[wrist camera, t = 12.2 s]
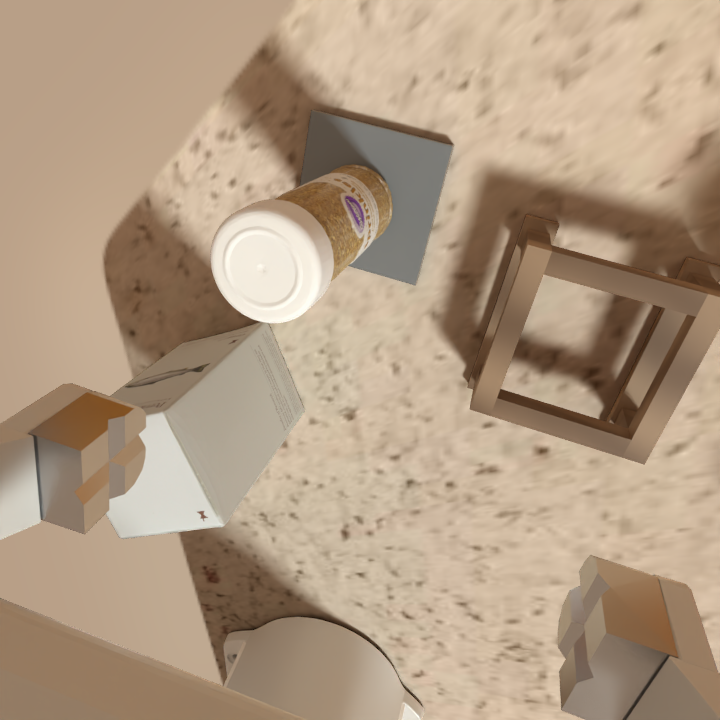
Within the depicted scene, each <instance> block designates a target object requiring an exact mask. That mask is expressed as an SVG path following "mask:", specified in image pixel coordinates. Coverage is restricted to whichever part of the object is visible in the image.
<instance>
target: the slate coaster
mask: <svg viewBox="0 0 720 720" xmlns="http://www.w3.org/2000/svg"><path fill="white" fill-rule="evenodd" d="M453 147H454V145H451V144H447V143H443V142H440V141H436V140H432V139H428V138H424V137H420V136H416V135H412V134H408V133H404V132H400V131H396V130H392V129H388V128H385V127H381V126H377V125H373V124H369V123H365V122H361V121H357V120H353V119H349V118H345V117H341V116H337V115H333V114H330V113H326V112H322V111H318V110H311V116H310V123H309V129H308V136H307V142H306V149H305V155H304V162H303V168H302V174H301V181H300V186H301V185H303V184H305V183H308V182H310V181H312V180H314V179H317V178H319V177H321V176H324V175H326V174H330V173H331V172H332V171H333V170H335V169H337V168H340V167H341V166H345V165H352V164H354V165H361V166H366V167H368V168H369V169H371V170H373V171H374V172H376V173H378V174H379V175H380V176H381V177H382V178H383V180H384V181H385V182H386V183H387V184H388V187H389V189H390V192H391V197H392V204H393V212H392V217H391V221H390V223H389V225H388V227H387V228H386V230H385V231H384V233H383V234H381V235H380V236H379V237H378V238H377V239H375V240H374V241H373V242H372V243H371V244H370V246H369V247H368V248H367V249H366V250H365V251H364V252H363V253H362V254H361V255H360V256H359V257H358V258H357V259H356V260H355V261H354V262H353V263H351V264H349V265H348V266H350V267H354V268H357V269H361V270H364V271H368V272H371V273H375V274H378V275H381V276H385V277H388V278H392V279H395V280H399V281H402V282H406V283H409V284H412V285H416V284H417V281H418V278H419V274H420V270H421V266H422V263H423V259H424V255H425V252H426V248H427V244H428V240H429V237H430V233H431V229H432V226H433V222H434V218H435V214H436V211H437V207H438V203H439V199H440V196H441V192H442V188H443V185H444V181H445V177H446V173H447V170H448V166H449V162H450V159H451V155H452V151H453Z"/></svg>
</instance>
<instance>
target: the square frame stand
mask: <svg viewBox="0 0 720 720" xmlns="http://www.w3.org/2000/svg"><path fill="white" fill-rule="evenodd" d="M558 228H559V223H558V222H555V221H551V220H547V219H543V218H540V217H536V216H532V215H528V214H526V216H525V219H524V222H523V225H522V228H521V231H520V234H519V237H518V240H517V243H516V246H515V248H514V251H513V254H512V257H511V260H510V263H509V266H508V269H507V272H506V275H505V278H504V280H503V283H502V286H501V289H500V292H499V295H498V298H497V301H496V304H495V307H494V310H493V313H492V315H491V318H490V321H489V324H488V327H487V330H486V333H485V336H484V339H483V342H482V345H481V348H480V350H479V353H478V356H477V359H476V362H475V365H474V368H473V371H472V374H471V377H470V380H469V382H468V387H467V388H471V389H473V394H472V399H471V405H470V410H473V411H477V412H480V413H483V414H486V415H489V416H492V417H496V418H499V419H502V420H505V421H508V422H511V423H515V424H518V425H521V426H524V427H527V428H530V429H534V430H537V431H540V432H543V433H546V434H549V435H553V436H556V437H559V438H562V439H565V440H568V441H572V442H575V443H578V444H581V445H584V446H587V447H591V448H594V449H597V450H600V451H603V452H606V453H610V454H613V455H616V456H619V457H622V458H625V459H629V460H632V461H635V462H638V463H641V464H645V463H646V461H647V459H648V457H649V455H650V453H651V452H652V450H653V448H654V446H655V444H656V443H657V441H658V439H659V437H660V435H661V434H662V432H663V430H664V428H665V426H666V425H667V423H668V421H669V419H670V417H671V416H672V414H673V412H674V410H675V408H676V406H677V405H678V403H679V401H680V399H681V397H682V396H683V394H684V392H685V390H686V388H687V387H688V385H689V383H690V381H691V379H692V378H693V376H694V374H695V372H696V370H697V369H698V367H699V365H700V363H701V361H702V360H703V358H704V356H705V354H706V352H707V350H708V349H709V347H710V345H711V343H712V341H713V340H714V338H715V336H716V334H717V332H718V331H719V329H720V285H719V284H718V282H719V280H720V265H716V264H712V263H709V262H705V261H701V260H697V259H694V258H690V257H686V259H685V261H684V263H683V265H682V268H681V270H680V272H679V274H678V276H677V278H676V279H674V278H670V277H666V276H662V275H659V274H655V273H651V272H648V271H644V270H640V269H637V268H633V267H629V266H626V265H622V264H618V263H615V262H611V261H607V260H604V259H600V258H596V257H593V256H589V255H585V254H582V253H578V252H574V251H571V250H567V249H563V248H559V247H556V246H552V244H553V241H554V238H555V236H556V233H557V230H558ZM543 274H544V275H548V276H551V277H555V278H559V279H562V280H566V281H569V282H573V283H577V284H580V285H584V286H587V287H591V288H594V289H598V290H602V291H605V292H609V293H612V294H616V295H620V296H623V297H627V298H630V299H634V300H637V301H641V302H645V303H648V304H652V305H655V306H659V307H662V308H661V310H660V312H659V314H658V316H657V318H656V320H655V322H654V324H653V326H652V329H651V331H650V333H649V335H648V337H647V339H646V341H645V343H644V345H643V347H642V349H641V351H640V353H639V355H638V357H637V359H636V361H635V363H634V365H633V367H632V369H631V371H630V373H629V375H628V377H627V379H626V381H625V383H624V385H623V387H622V390H621V392H620V394H619V396H618V398H617V400H616V402H615V404H614V406H613V408H612V410H611V412H610V414H609V416H608V418H607V420H606V421H602V420H599V419H596V418H593V417H589V416H586V415H583V414H580V413H576V412H573V411H570V410H567V409H564V408H560V407H557V406H554V405H551V404H547V403H544V402H541V401H538V400H534V399H531V398H528V397H525V396H521V395H518V394H515V393H512V392H508V391H505V390H502V389H501V386H502V383H503V381H504V378H505V375H506V373H507V370H508V367H509V365H510V362H511V359H512V357H513V354H514V351H515V349H516V346H517V343H518V341H519V338H520V335H521V333H522V330H523V327H524V325H525V322H526V319H527V317H528V314H529V311H530V309H531V306H532V303H533V301H534V298H535V295H536V293H537V290H538V287H539V285H540V282H541V280H542V277H543Z"/></svg>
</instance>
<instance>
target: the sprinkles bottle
mask: <svg viewBox="0 0 720 720" xmlns="http://www.w3.org/2000/svg"><path fill="white" fill-rule="evenodd" d="M392 212H393V204H392V197H391V192H390V189H389V187H388V184H387V183H386V182H385V181H384V180H383V178H382V177H381V176H380V175H379V174H378V173H376V172H374V171H373V170H371V169H369V168H368V167H366V166H361V165H354V164H352V165H345V166H341V167H340V168H337V169H335V170H333V171H332V172H331V173H330V174H326V175H324V176H321V177H319V178H317V179H314V180H312V181H310V182H308V183H305V184H303V185H301V186H299V187H297V188H295V189H292V190H290V191H288V192H286V193H284V194H282V195H281V196H279V197H278V198H276V199H269V200H262V201H259V202H256V203H254V204H251V205H249V206H247V207H245V208H243V209H241V210H239V211H237V212H235V213H233V214H232V215H230V216H229V217H228V218H227V219H226V220H225V221H224V222H223V223H222V224H221V225H220V227H219V228H218V230H217V232H216V234H215V236H214V239H213V242H212V246H211V254H210V260H211V269H212V273H213V277H214V279H215V282H216V284H217V286H218V288H219V290H220V292H221V293H222V295H223V296H224V297H225V299H226V300H227V301H228V302H229V303H230V304H231V305H232V306H233V307H234V308H235V309H236V310H238V311H239V312H240V313H242V314H243V315H245V316H247V317H249V318H251V319H254V320H257V321H260V322H265V323H282V322H287V321H290V320H293V319H295V318H297V317H299V316H301V315H302V314H303V313H305V312H306V311H307V310H308V309H309V308H311V307H312V306H313V305H314V304H315V303H316V302H317V301H318V300H319V299H320V298H321V297H322V296H323V295H324V293H325V292H326V290H327V289H328V287H329V284H330V282H331V281H332V280H333V279H335V278H336V277H337V275H339V274H340V273H341V272H342V271H343V270H344V269H345V268H346V267H347V266H348V265H349V264H351V263H353V262H354V261H355V260H356V259H357V258H358V257H359V256H360V255H361V254H362V253H363V252H364V251H365V250H366V249H367V248H368V247H369V246H370V244H371V243H372V242H373V241H374V240H375V239H377V238H378V237H379V236H380V235H381V234H383V233H384V231H385V230H386V228H387V227H388V225H389V223H390V221H391V217H392Z"/></svg>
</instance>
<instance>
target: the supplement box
mask: <svg viewBox="0 0 720 720" xmlns="http://www.w3.org/2000/svg"><path fill="white" fill-rule="evenodd" d="M110 397H113V398H116V399H118V400H121V401H124V402H127V403H130V404H133V405H135V406H138V407H141V408H142V409H143V410H144V411H145V412H146V428H145V429H144V430H143V431H142V432H141V433H140V434H139V436H140V438H141V440H142V441H143V443H144V445H145V447H146V454H145V461H144V465H143V469H142V471H141V473H140V475H139V477H138V479H137V480H136V482H135V484H134V485H133V486H132V487H131V488H130V489H129V490H128V491H127V493H126V494H124V495H121V496H118V497H115V498H112V499H109V511H108V512H107V513H106V515H107V517H108V519H109V520H110V522H111V524H112V526H113V527H114V529H115V531H116V533H117V535H118V537H119V538H122V539H127V538H135V537H142V536H150V535H158V534H167V533H177V532H183V531H190V530H198V529H207V528H215V527H223V526H225V525H226V523H227V522H228V520H229V519H230V518H231V516H232V515H233V513H234V512H235V510H236V509H237V508H238V506H239V505H240V503H241V502H242V500H243V499H244V498H245V496H246V495H247V493H248V492H249V490H250V489H251V488H252V486H253V485H254V483H255V482H256V480H257V479H258V477H259V476H260V475H261V473H262V472H263V470H264V469H265V468H266V466H267V465H268V463H269V462H270V460H271V459H272V458H273V456H274V455H275V453H276V452H277V450H278V449H279V447H280V446H281V445H282V443H283V442H284V440H285V439H286V437H287V436H288V435H289V433H290V432H291V430H292V429H293V427H294V426H295V425H296V423H297V422H298V420H299V419H300V417H301V416H302V414H303V413H304V412H305V410H304V407H303V405H302V402H301V400H300V397H299V395H298V393H297V390H296V388H295V385H294V383H293V380H292V378H291V376H290V373H289V371H288V369H287V366H286V363H285V361H284V359H283V356H282V354H281V352H280V349H279V347H278V344H277V342H276V340H275V337H274V335H273V333H272V330H271V328H270V326H269V324H268V323H265V322H259V323H256V324H253V325H250V326H247V327H244V328H240V329H237V330H233V331H230V332H226V333H222V334H218V335H214V336H210V337H206V338H202V339H198V340H194V341H189V342H184V343H182V344H180V345H179V346H177V347H176V348H175V349H173V350H172V351H171V352H169V353H168V354H166V355H165V356H164V357H162V358H161V359H160V360H158V361H157V362H155V363H154V364H153V365H151V366H150V367H149V368H147V369H146V370H144V371H143V372H142V373H141V374H139V375H138V376H136V377H135V378H134V379H132V380H131V381H130V382H128V383H127V384H126V385H124V386H123V387H122V388H120V389H119V390H118V391H116V392H115V393H114V394H112V395H111V396H110Z"/></svg>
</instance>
